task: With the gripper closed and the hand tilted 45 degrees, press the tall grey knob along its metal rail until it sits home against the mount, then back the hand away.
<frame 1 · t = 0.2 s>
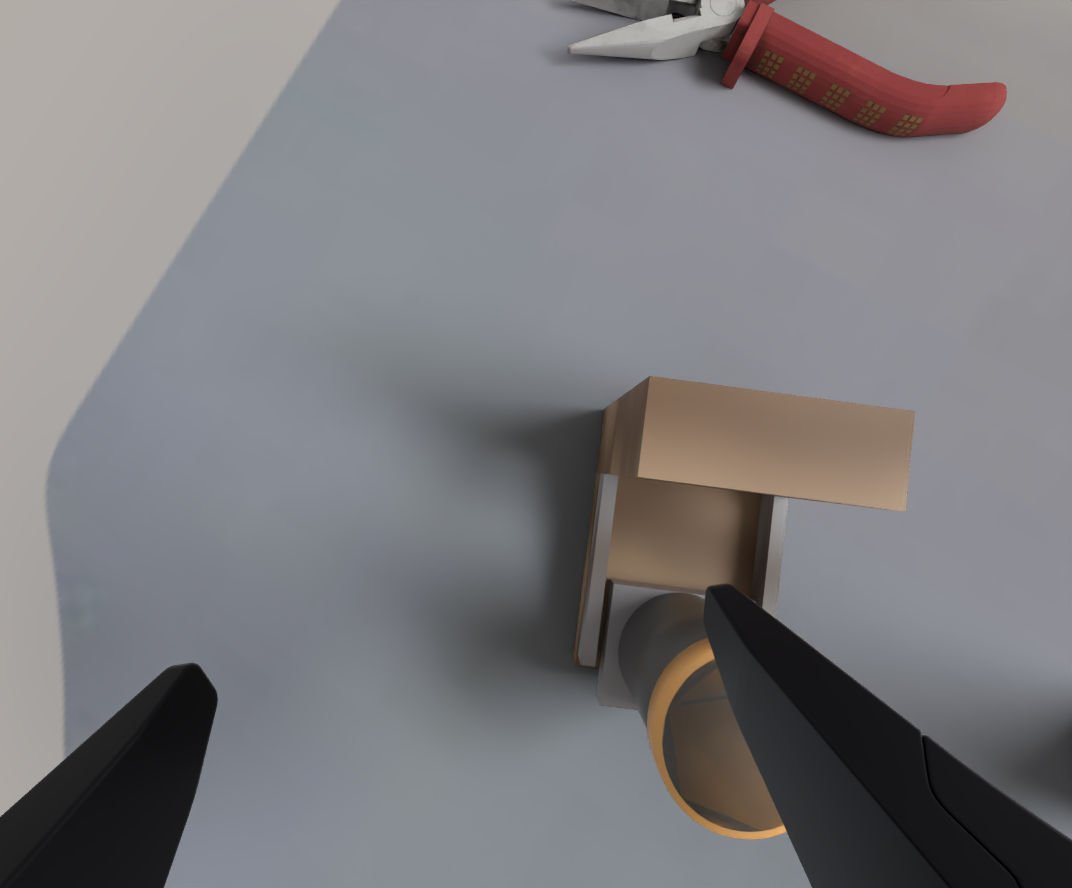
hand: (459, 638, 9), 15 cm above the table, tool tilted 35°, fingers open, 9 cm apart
pliers: (786, 13, 26), on the table
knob: (702, 682, 19), point 5 cm above the table, slide at 4.0 cm
mount: (676, 526, 24), on the table
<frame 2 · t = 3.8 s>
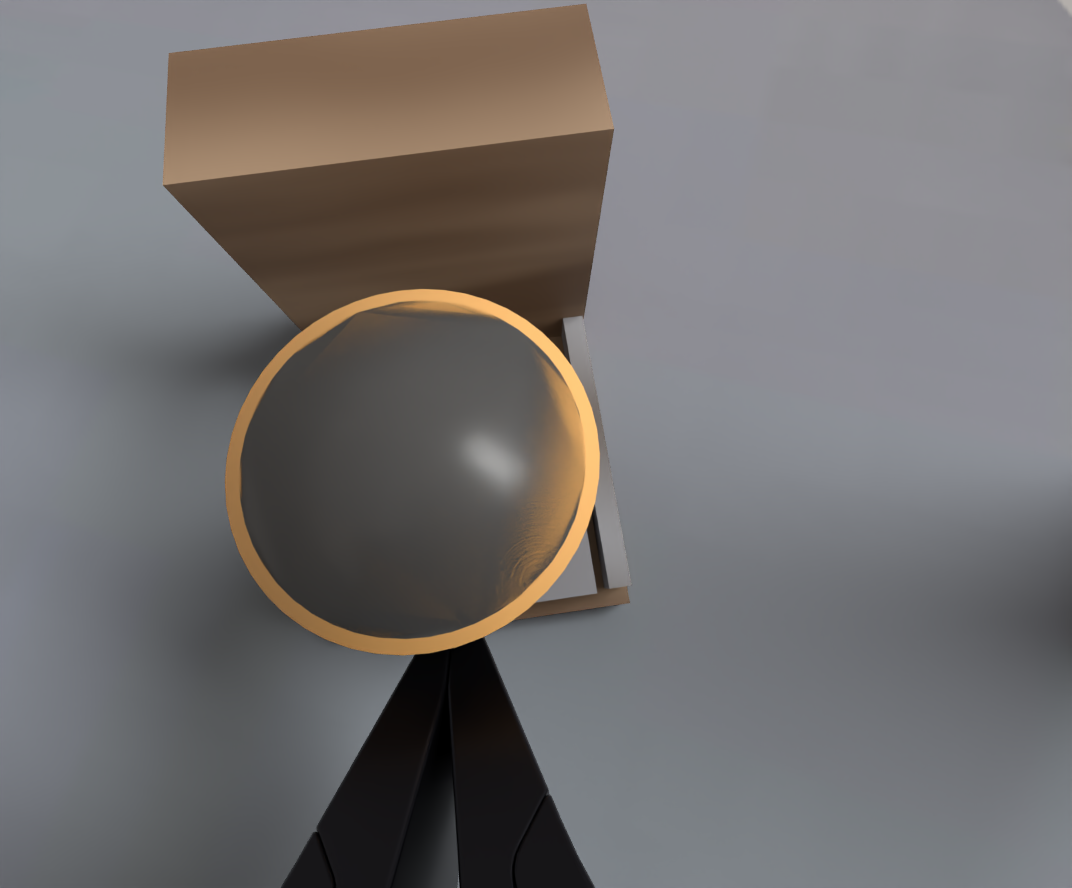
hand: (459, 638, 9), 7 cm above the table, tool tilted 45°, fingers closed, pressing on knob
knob: (456, 498, 11), point 5 cm above the table, slide at 2.6 cm, touching gripper
mount: (470, 417, 17), on the table
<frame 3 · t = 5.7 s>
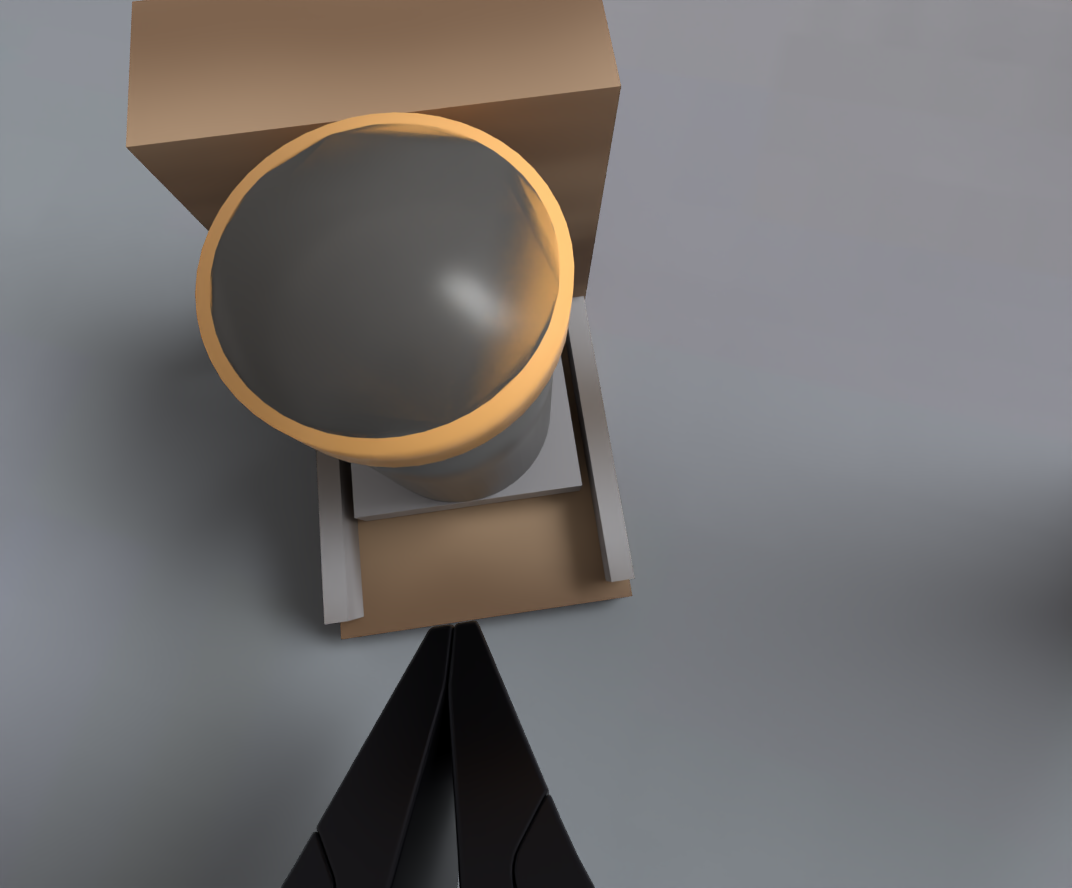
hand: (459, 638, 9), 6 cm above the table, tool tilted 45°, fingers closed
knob: (437, 370, 11), point 5 cm above the table, slide at 0.0 cm
mount: (466, 403, 17), on the table
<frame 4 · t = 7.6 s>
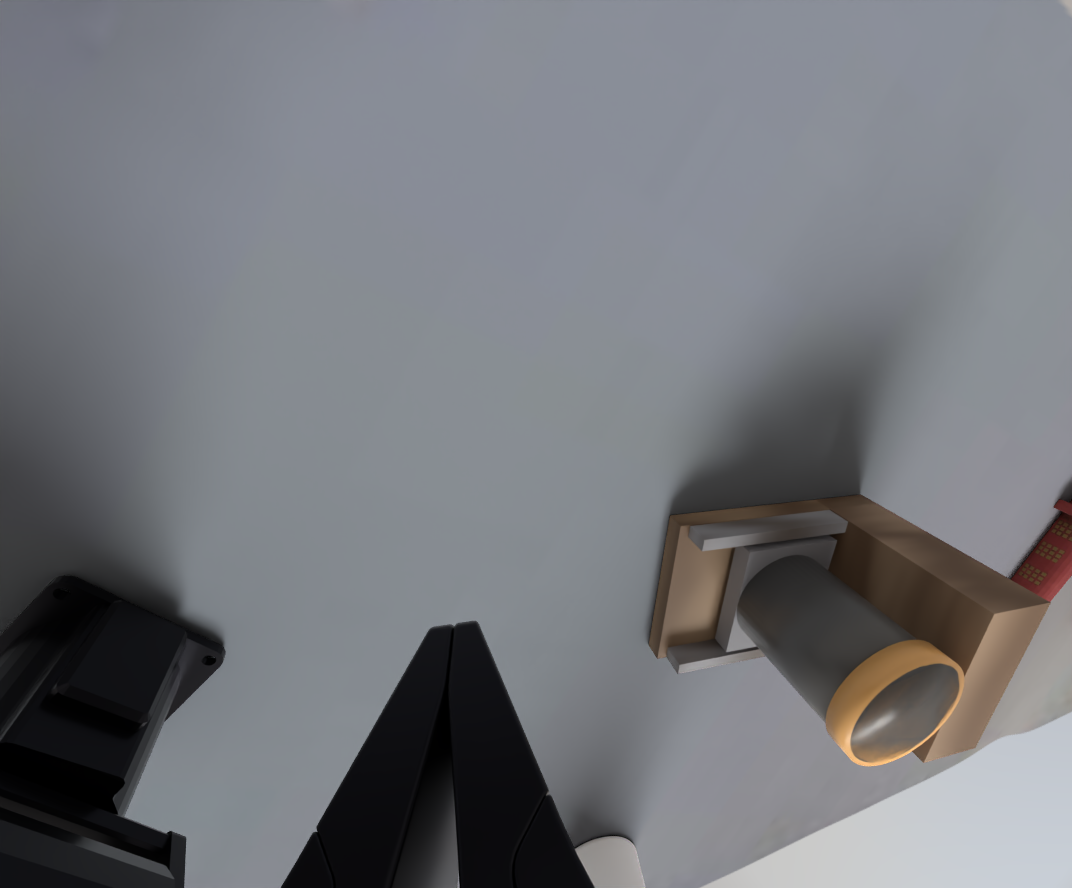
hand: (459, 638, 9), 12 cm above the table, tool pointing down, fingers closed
cosmetic bottle: (592, 862, 35), on the table
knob: (826, 640, 24), point 5 cm above the table, slide at 0.0 cm
mount: (766, 568, 29), on the table
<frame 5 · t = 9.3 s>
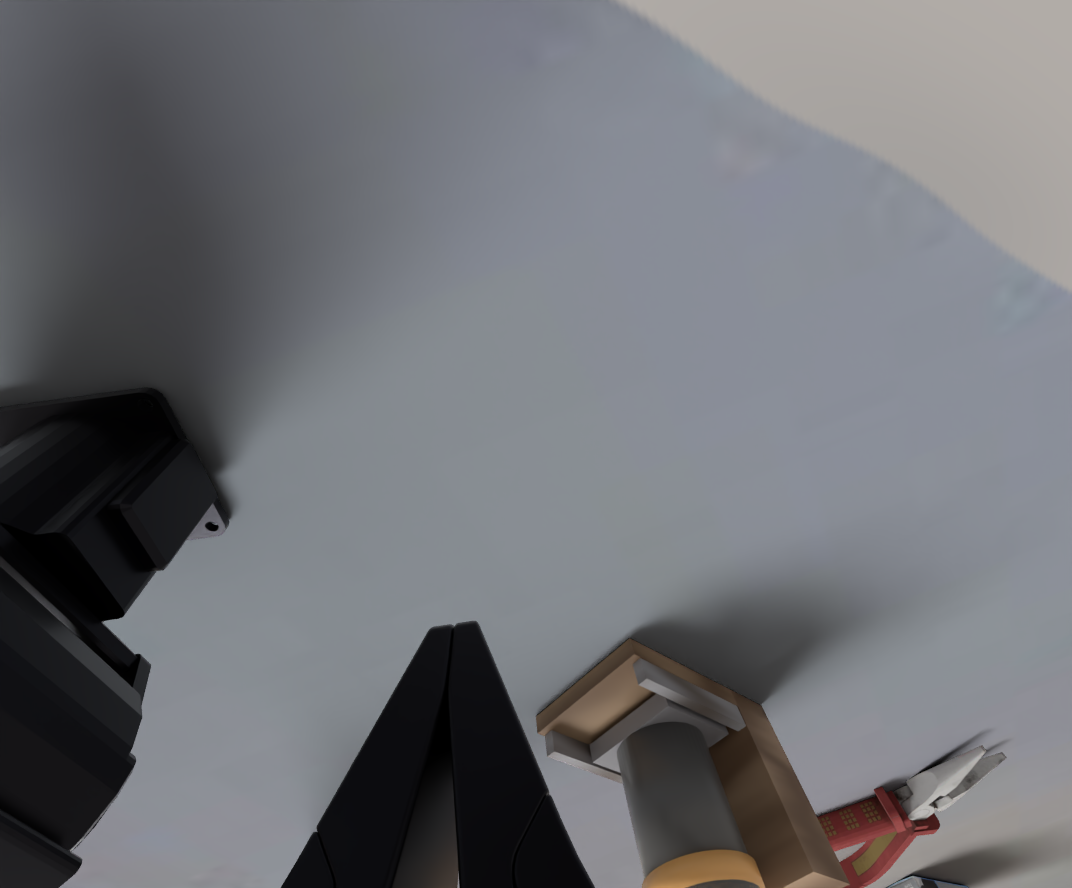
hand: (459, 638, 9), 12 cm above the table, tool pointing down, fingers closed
pliers: (870, 810, 43), on the table
label tape box: (922, 884, 51), on the table
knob: (678, 806, 27), point 5 cm above the table, slide at 0.0 cm
mount: (660, 714, 32), on the table
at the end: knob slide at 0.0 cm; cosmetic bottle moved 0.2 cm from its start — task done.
